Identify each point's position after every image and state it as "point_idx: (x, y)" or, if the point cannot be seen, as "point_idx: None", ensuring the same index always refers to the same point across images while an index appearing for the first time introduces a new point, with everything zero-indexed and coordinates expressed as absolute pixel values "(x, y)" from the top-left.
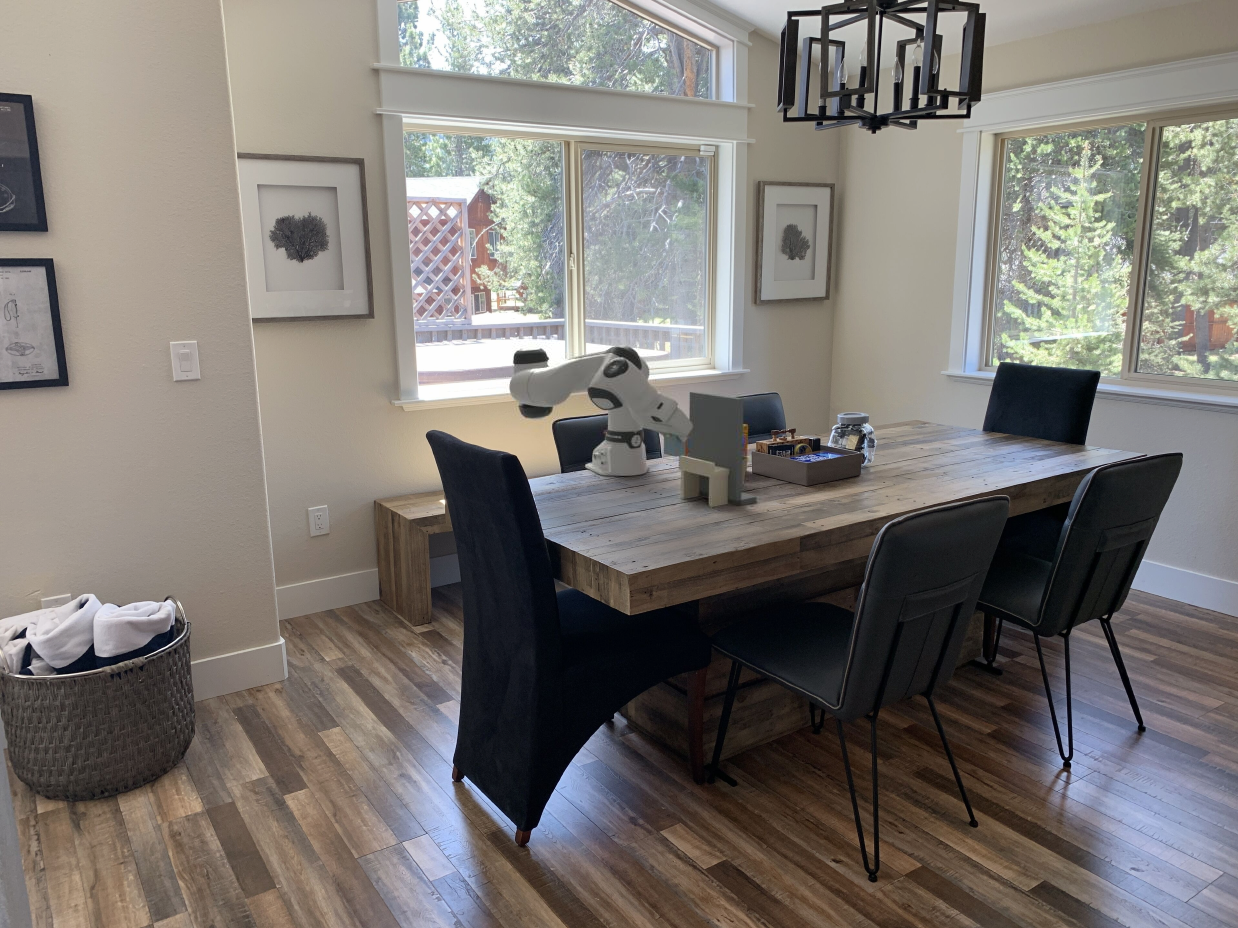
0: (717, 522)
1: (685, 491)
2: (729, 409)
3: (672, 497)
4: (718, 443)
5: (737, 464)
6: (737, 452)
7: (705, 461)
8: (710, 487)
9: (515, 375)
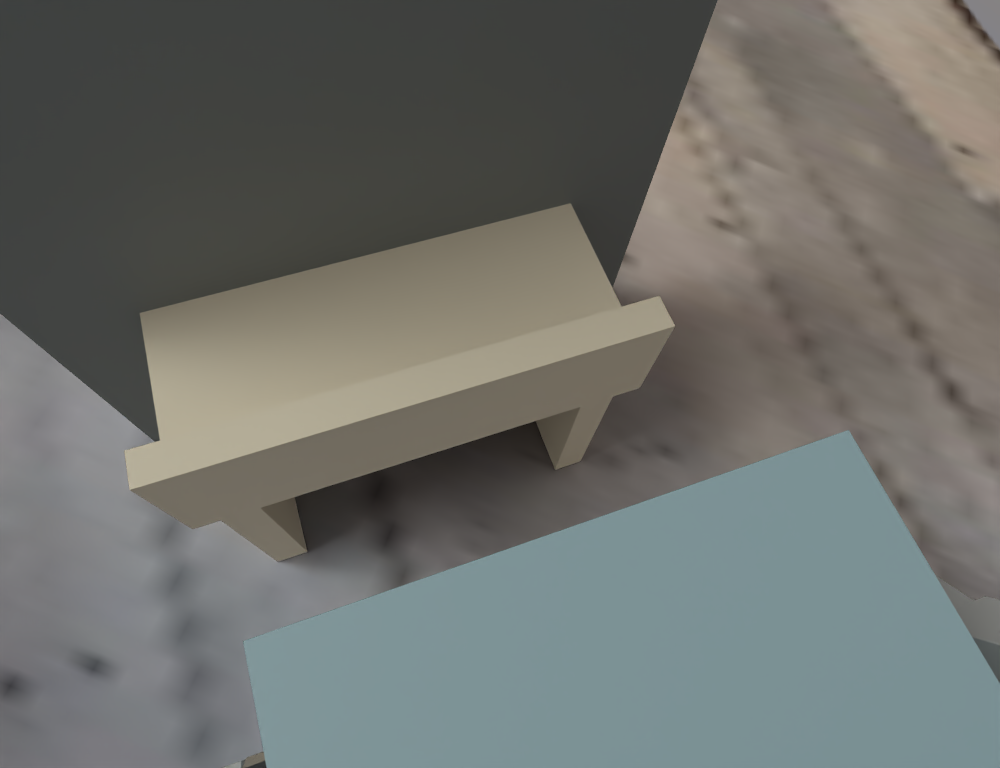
0: (944, 576)
1: (291, 522)
2: None
3: (228, 612)
4: (434, 60)
5: (662, 138)
6: (695, 48)
7: (561, 345)
8: (589, 419)
9: None
